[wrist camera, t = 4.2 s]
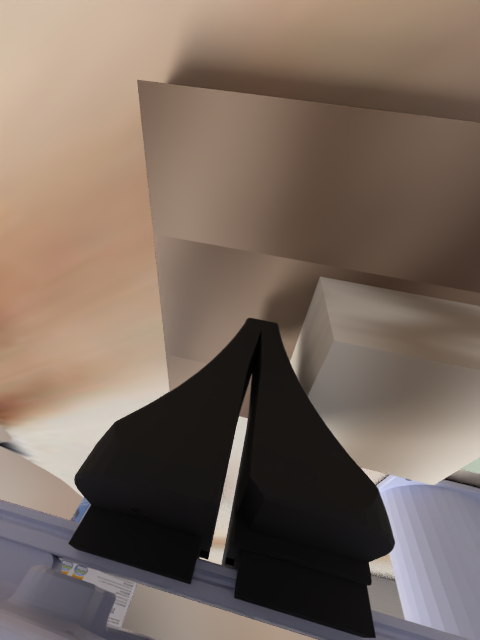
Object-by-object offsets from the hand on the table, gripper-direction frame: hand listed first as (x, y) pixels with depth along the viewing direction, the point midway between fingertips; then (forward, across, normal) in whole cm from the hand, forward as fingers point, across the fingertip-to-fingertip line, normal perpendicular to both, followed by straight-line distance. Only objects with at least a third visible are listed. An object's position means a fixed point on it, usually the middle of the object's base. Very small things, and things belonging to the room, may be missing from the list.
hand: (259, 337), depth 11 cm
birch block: (+1, -5, 0) cm, 5 cm away
